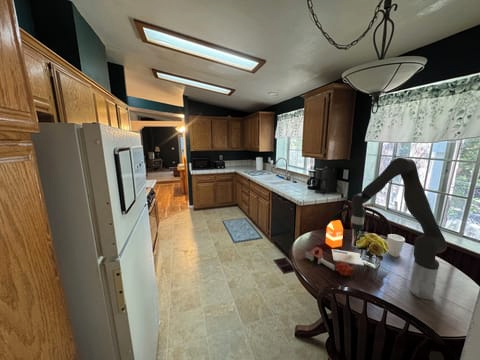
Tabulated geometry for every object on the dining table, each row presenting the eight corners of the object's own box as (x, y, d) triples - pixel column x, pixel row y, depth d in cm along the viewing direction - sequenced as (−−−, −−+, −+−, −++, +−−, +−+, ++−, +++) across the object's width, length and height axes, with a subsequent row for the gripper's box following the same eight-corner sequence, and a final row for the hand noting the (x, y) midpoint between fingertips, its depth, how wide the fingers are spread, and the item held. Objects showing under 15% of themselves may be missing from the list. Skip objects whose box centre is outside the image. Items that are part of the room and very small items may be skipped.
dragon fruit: (331, 271, 125) (352, 280, 120) (332, 271, 118) (354, 280, 112) (335, 258, 128) (355, 266, 122) (335, 257, 120) (357, 266, 115)
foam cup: (405, 257, 135) (408, 240, 133) (392, 258, 135) (394, 240, 133) (395, 250, 145) (397, 234, 142) (382, 250, 145) (384, 234, 142)
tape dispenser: (336, 274, 123) (327, 254, 143) (338, 267, 122) (329, 247, 141) (307, 270, 126) (303, 251, 145) (308, 263, 124) (303, 245, 143)
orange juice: (325, 242, 157) (327, 219, 152) (334, 241, 159) (336, 218, 155) (332, 248, 149) (334, 223, 145) (341, 245, 152) (344, 221, 148)
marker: (357, 249, 136) (359, 233, 134) (351, 248, 137) (353, 233, 135) (356, 246, 140) (358, 231, 137) (350, 246, 141) (352, 230, 138)
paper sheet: (363, 266, 128) (364, 264, 127) (333, 260, 134) (333, 259, 134) (359, 254, 140) (359, 253, 140) (331, 249, 147) (331, 248, 146)
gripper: (366, 226, 127) (363, 250, 130) (361, 218, 140) (358, 240, 143) (353, 225, 129) (350, 248, 133) (349, 217, 142) (347, 238, 146)
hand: (354, 244), depth 138 cm, fingers closed on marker, 3 cm apart
